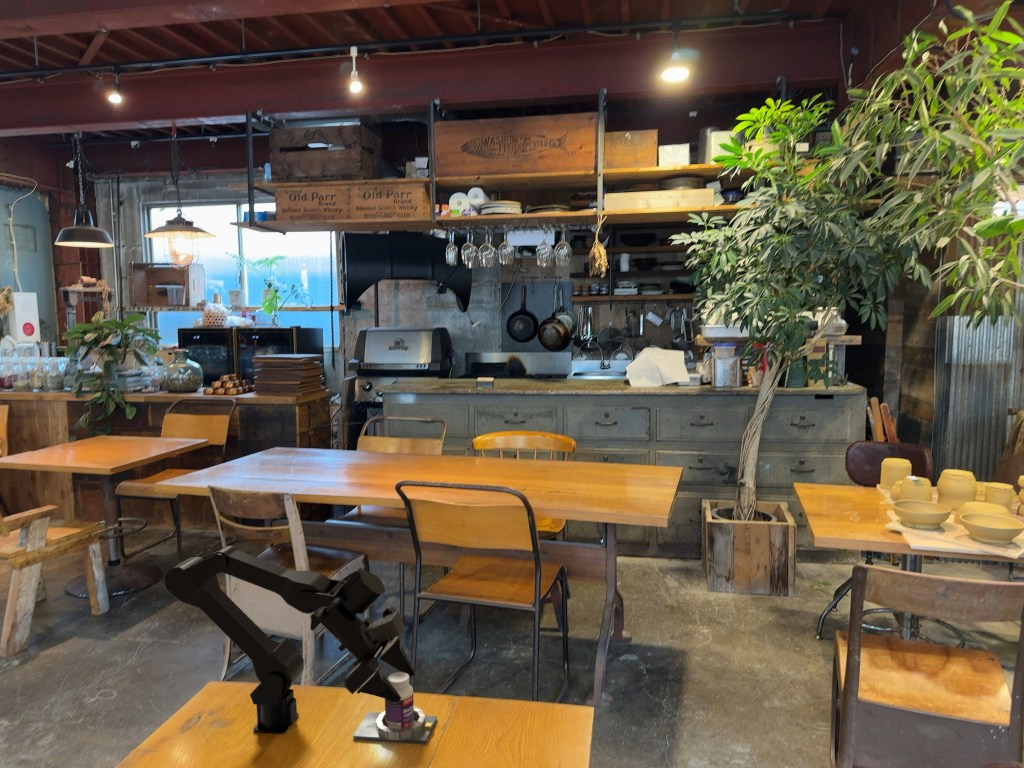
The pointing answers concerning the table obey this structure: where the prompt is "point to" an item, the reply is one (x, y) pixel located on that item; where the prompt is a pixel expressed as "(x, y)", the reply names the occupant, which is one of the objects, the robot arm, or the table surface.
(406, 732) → the collar
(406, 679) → the pill bottle
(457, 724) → the table surface
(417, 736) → the plate
